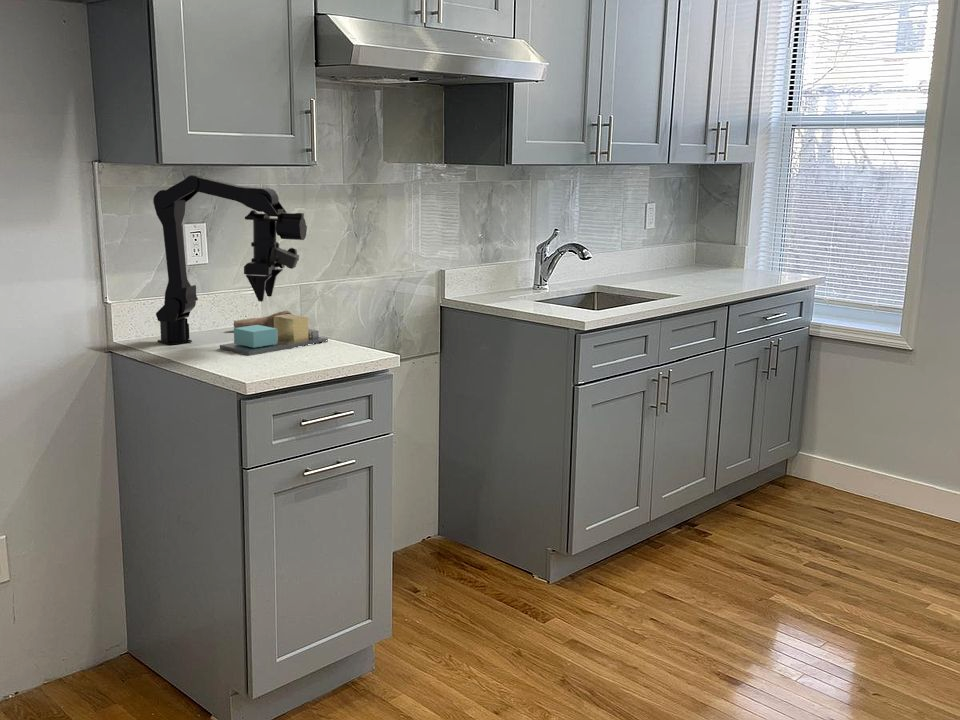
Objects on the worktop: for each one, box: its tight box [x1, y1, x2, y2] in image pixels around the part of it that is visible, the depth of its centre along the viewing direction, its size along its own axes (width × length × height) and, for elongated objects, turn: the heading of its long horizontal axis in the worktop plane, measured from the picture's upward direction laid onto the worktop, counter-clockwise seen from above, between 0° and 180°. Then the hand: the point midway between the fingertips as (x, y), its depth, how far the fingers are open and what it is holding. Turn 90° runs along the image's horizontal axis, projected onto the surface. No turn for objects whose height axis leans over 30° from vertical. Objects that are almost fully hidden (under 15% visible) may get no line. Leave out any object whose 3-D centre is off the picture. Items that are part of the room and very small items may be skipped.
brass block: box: [274, 314, 309, 342], centre depth 252 cm, size 8×5×6 cm, turn 51°
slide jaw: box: [233, 325, 278, 348], centre depth 243 cm, size 8×8×4 cm
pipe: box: [233, 310, 293, 329], centre depth 268 cm, size 6×17×10 cm
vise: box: [219, 328, 329, 356], centre depth 248 cm, size 26×12×3 cm, turn 141°
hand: (265, 298), depth 244 cm, fingers open, 9 cm apart
